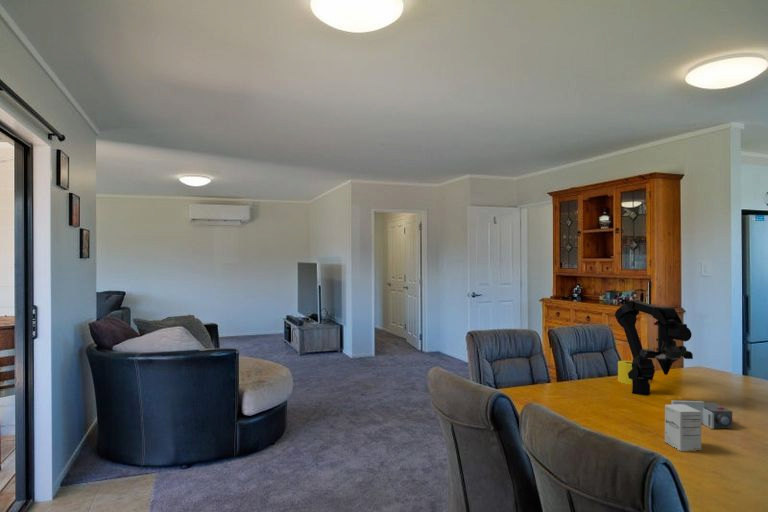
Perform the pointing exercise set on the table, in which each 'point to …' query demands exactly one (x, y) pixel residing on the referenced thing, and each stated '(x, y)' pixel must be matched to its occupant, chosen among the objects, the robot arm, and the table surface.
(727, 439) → the table surface
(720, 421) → the camera body
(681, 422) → the supplement box
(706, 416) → the side door
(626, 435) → the table surface
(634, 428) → the table surface
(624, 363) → the yellow paper roll
